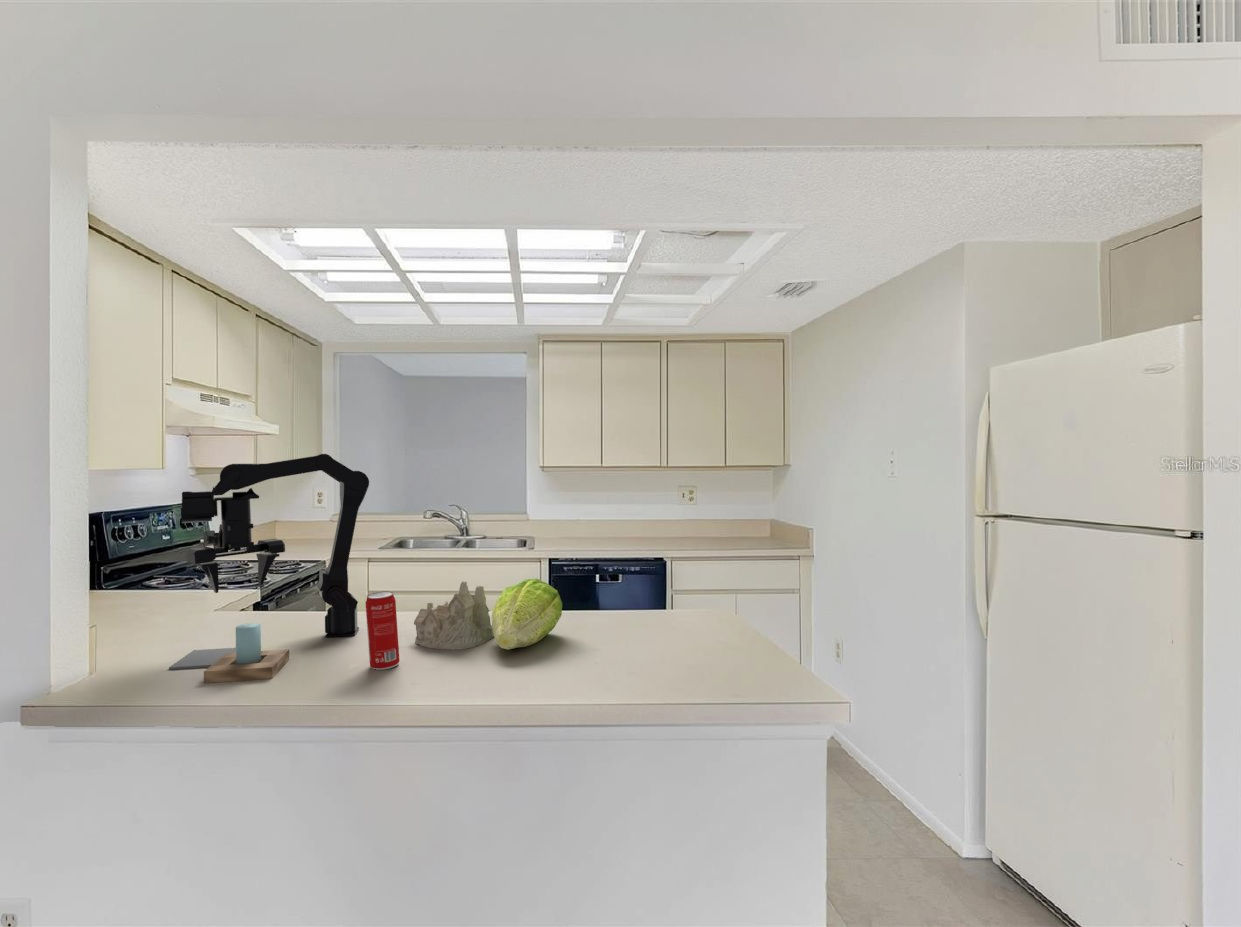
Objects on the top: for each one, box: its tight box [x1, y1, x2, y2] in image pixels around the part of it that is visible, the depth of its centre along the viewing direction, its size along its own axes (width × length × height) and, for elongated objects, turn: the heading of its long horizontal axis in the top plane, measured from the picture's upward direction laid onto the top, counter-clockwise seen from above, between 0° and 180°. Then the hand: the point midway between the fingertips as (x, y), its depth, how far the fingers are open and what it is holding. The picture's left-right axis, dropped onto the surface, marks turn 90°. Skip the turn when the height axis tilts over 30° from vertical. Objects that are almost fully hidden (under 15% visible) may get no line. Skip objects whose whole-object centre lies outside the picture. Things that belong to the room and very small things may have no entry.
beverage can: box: [365, 590, 400, 671], centre depth 137 cm, size 6×6×15 cm
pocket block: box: [203, 648, 290, 684], centre depth 134 cm, size 12×12×2 cm
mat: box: [168, 647, 236, 671], centre depth 142 cm, size 12×12×1 cm
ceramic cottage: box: [413, 580, 495, 650], centre depth 156 cm, size 16×16×15 cm
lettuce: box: [490, 578, 563, 651], centre depth 152 cm, size 14×24×15 cm
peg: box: [235, 622, 262, 664], centre depth 134 cm, size 4×4×9 cm
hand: (238, 589), depth 150 cm, fingers open, 9 cm apart
